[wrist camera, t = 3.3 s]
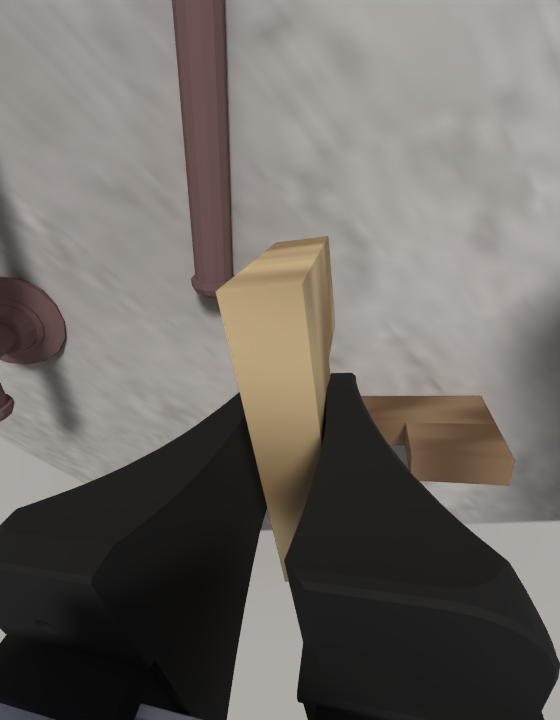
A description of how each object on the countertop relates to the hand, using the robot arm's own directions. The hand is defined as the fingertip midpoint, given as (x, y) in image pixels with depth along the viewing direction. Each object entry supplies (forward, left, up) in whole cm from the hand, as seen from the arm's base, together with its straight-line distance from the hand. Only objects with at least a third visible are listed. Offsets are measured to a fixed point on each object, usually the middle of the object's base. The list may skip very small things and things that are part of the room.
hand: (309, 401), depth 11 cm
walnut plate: (-2, +7, -9) cm, 12 cm away
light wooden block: (0, 0, -2) cm, 2 cm away
